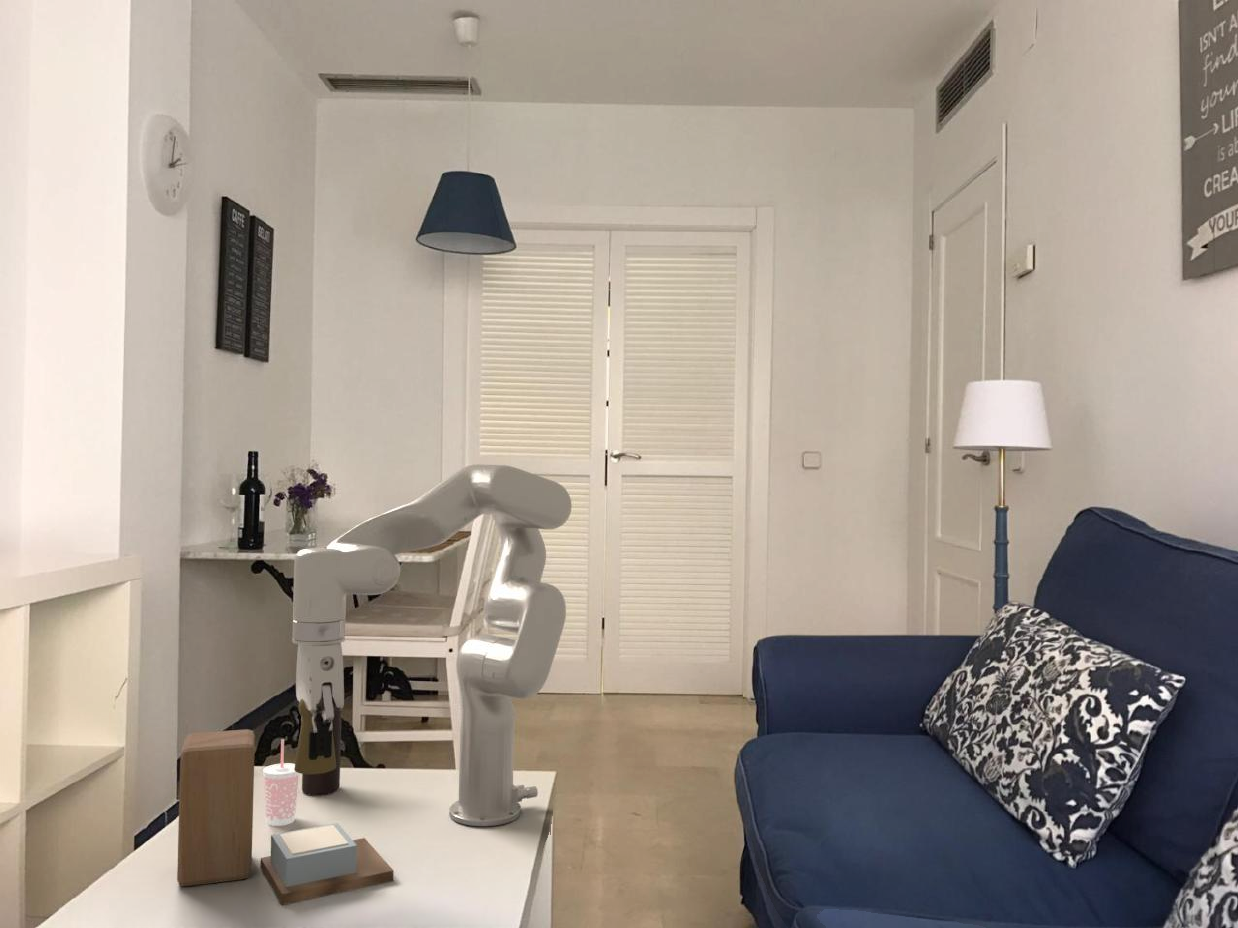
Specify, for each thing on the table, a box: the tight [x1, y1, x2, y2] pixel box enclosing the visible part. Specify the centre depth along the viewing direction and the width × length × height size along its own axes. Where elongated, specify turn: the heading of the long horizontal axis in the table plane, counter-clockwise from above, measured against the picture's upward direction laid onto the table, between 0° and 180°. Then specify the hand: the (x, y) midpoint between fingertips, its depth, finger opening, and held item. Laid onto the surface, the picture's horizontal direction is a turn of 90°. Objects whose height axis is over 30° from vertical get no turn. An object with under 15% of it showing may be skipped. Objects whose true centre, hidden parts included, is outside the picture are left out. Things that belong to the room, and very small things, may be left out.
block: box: [176, 728, 256, 887], centre depth 142 cm, size 10×10×20 cm
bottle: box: [301, 708, 343, 797], centre depth 178 cm, size 7×7×20 cm
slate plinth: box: [270, 822, 357, 887], centre depth 141 cm, size 10×10×4 cm
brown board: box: [259, 837, 394, 906], centre depth 142 cm, size 16×14×2 cm
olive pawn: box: [294, 698, 336, 775], centre depth 141 cm, size 6×6×11 cm
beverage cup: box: [262, 738, 300, 827], centre depth 162 cm, size 6×6×14 cm
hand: (315, 752), depth 141 cm, fingers closed on olive pawn, 3 cm apart
